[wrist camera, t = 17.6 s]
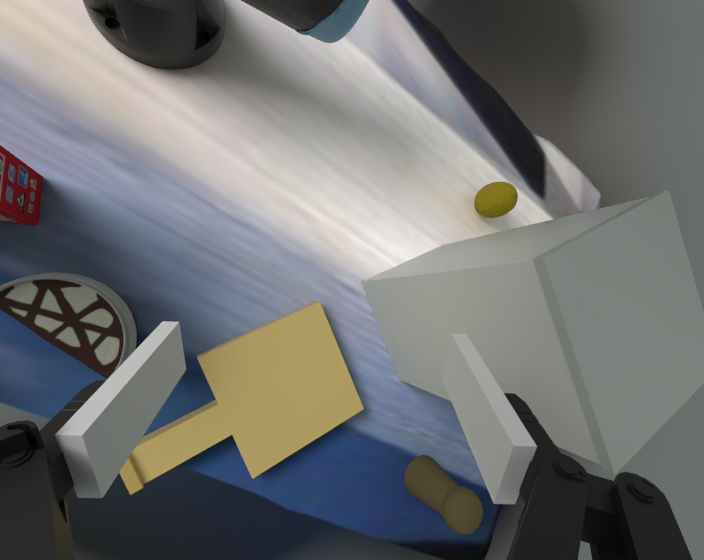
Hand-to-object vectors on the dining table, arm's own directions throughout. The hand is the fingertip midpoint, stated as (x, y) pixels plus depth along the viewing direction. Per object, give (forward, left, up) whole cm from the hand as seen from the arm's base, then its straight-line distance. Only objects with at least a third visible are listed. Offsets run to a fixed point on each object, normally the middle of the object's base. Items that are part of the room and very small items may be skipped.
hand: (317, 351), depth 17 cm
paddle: (+10, -2, -30) cm, 31 cm away
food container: (-3, -15, -30) cm, 34 cm away
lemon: (-13, +40, -30) cm, 52 cm away
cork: (+28, +22, -30) cm, 46 cm away
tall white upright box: (+3, +26, -30) cm, 39 cm away
